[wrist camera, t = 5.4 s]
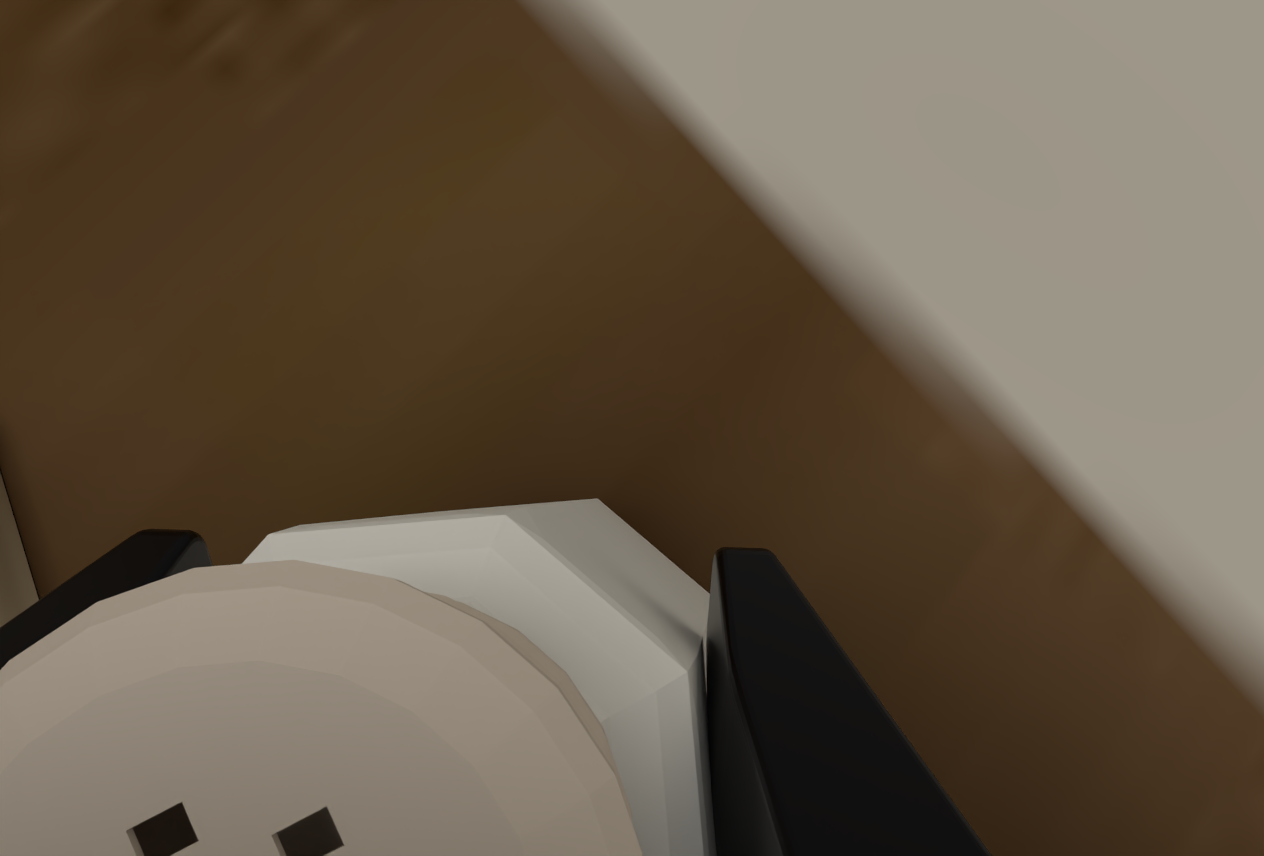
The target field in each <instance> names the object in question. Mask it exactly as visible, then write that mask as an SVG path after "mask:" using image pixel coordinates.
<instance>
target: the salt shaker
mask: <svg viewBox="0 0 1264 856" xmlns="http://www.w3.org/2000/svg"><path fill="white" fill-rule="evenodd" d="M709 599H710V594H709V593H708V592H707V591H706V590H704V589H703V588H702V587H701V586H700V585H699V584H697V583H696V582H695V581H694V580H693V579H692V578H690V577H689V576H688V575H687V574H686V573H684V572H683V571H682V570H681V569H680V568H679V567H677V566H676V565H675V564H674V563H673V562H672V561H670V560H669V559H668V558H667V557H666V556H664V555H663V554H662V553H661V552H660V551H659V550H657V549H656V548H655V547H654V546H653V545H652V544H650V543H649V542H648V541H647V540H646V539H645V538H643V537H642V536H641V535H640V534H639V533H637V532H636V531H635V530H634V529H633V528H632V527H630V526H629V525H628V524H627V523H626V522H625V521H623V520H622V519H621V518H620V517H619V516H617V515H616V514H615V513H614V512H613V511H612V510H610V509H609V508H608V507H607V506H606V505H605V504H603V503H602V502H601V501H600V500H599V499H585V500H573V501H561V502H549V503H536V504H524V505H512V506H500V507H488V508H475V509H463V510H451V511H440V512H429V513H419V514H409V515H398V516H388V517H378V518H367V519H357V520H347V521H336V522H326V523H316V524H305V525H298V526H295V527H292V528H288V529H285V530H281V531H278V532H275V533H271V534H268V535H267V537H266V538H265V539H264V540H263V541H262V542H261V543H260V544H259V545H258V547H257V548H256V549H255V550H254V551H253V552H252V553H251V554H250V555H249V556H248V558H247V559H246V560H245V561H244V562H243V563H242V564H235V565H223V566H211V567H199V568H192V569H189V570H186V571H184V572H181V573H178V574H175V575H172V576H169V577H167V578H164V579H161V580H158V581H155V582H152V583H150V584H147V585H144V586H141V587H138V588H135V589H133V590H130V591H127V592H124V593H121V594H118V595H116V596H113V597H110V598H107V599H104V600H101V601H99V602H96V603H95V604H93V605H92V606H90V607H89V608H87V609H86V610H84V611H83V612H81V613H80V614H78V615H77V616H75V617H74V618H72V619H71V620H69V621H68V622H66V623H65V624H63V625H62V626H60V627H59V628H57V629H56V630H54V631H53V632H51V633H50V634H48V635H47V636H45V637H44V638H42V639H41V640H39V641H38V642H36V643H35V644H33V645H32V646H30V647H29V648H27V649H26V650H24V651H23V652H21V653H20V654H18V655H17V656H15V657H14V658H12V659H11V660H9V661H8V662H7V663H6V665H5V666H4V667H3V668H2V669H1V670H0V856H717V853H716V842H715V830H714V818H713V805H712V790H711V773H710V754H709V735H708V717H707V684H706V637H707V621H708V610H709Z"/></svg>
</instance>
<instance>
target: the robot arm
mask: <svg viewBox="0 0 1264 856" xmlns="http://www.w3.org/2000/svg"><path fill="white" fill-rule="evenodd" d="M211 566H212V562H211V559H210V555H209V552H208V548H207V546H206V543H205V541H204V539H203V538H202V537H201V535H199V534H198V533H196V532H194V531H191V530H169V529H147V530H142V531H139V532H137V533H136V534H134V535H132V536H130V537H129V538H128V539H126V540H125V541H123V542H122V543H120V544H119V545H118V546H116V547H115V548H113V549H112V550H110V551H109V552H107V553H106V554H105V555H103V556H102V557H100V558H99V559H97V560H96V561H95V562H93V563H92V564H90V565H89V566H87V567H86V568H84V569H83V570H82V571H80V572H79V573H77V574H76V575H74V576H73V577H72V578H70V579H69V580H67V581H66V582H64V583H63V584H61V585H60V586H59V587H57V588H56V589H54V590H53V591H51V592H50V593H49V594H47V595H46V596H44V597H43V598H41V599H40V600H38V601H37V602H36V603H34V604H33V605H31V606H30V607H28V608H27V609H26V610H24V611H23V612H21V613H20V614H18V615H17V616H15V617H14V618H13V619H11V620H10V621H8V622H7V623H5V624H4V625H3V626H1V627H0V670H1V669H2V668H3V667H4V666H5V665H6V663H7V662H8V661H9V660H11V659H12V658H14V657H15V656H17V655H18V654H20V653H21V652H23V651H24V650H26V649H27V648H29V647H30V646H32V645H33V644H35V643H36V642H38V641H39V640H41V639H42V638H44V637H45V636H47V635H48V634H50V633H51V632H53V631H54V630H56V629H57V628H59V627H60V626H62V625H63V624H65V623H66V622H68V621H69V620H71V619H72V618H74V617H75V616H77V615H78V614H80V613H81V612H83V611H84V610H86V609H87V608H89V607H90V606H92V605H93V604H95V603H96V602H99V601H101V600H104V599H107V598H110V597H113V596H116V595H118V594H121V593H124V592H127V591H130V590H133V589H135V588H138V587H141V586H144V585H147V584H150V583H152V582H155V581H158V580H161V579H164V578H167V577H169V576H172V575H175V574H178V573H181V572H184V571H186V570H189V569H192V568H199V567H211ZM706 684H707V717H708V735H709V754H710V773H711V790H712V805H713V818H714V830H715V842H716V853H717V856H992V855H991V854H990V852H989V851H988V850H987V848H986V847H985V846H984V844H983V843H982V841H981V840H980V839H979V837H978V836H977V834H976V833H975V832H974V830H973V829H972V828H971V826H970V825H969V823H968V822H967V821H966V819H965V818H964V816H963V815H962V814H961V812H960V811H959V810H958V808H957V807H956V805H955V804H954V803H953V801H952V800H951V798H950V797H949V796H948V794H947V793H946V792H945V790H944V789H943V787H942V786H941V785H940V783H939V782H938V780H937V779H936V778H935V776H934V775H933V773H932V772H931V771H930V769H929V768H928V767H927V765H926V764H925V762H924V761H923V760H922V758H921V757H920V755H919V754H918V753H917V751H916V750H915V749H914V747H913V746H912V744H911V743H910V742H909V740H908V739H907V737H906V736H905V735H904V733H903V732H902V731H901V729H900V728H899V726H898V725H897V724H896V722H895V721H894V719H893V718H892V717H891V715H890V714H889V713H888V711H887V710H886V708H885V707H884V706H883V704H882V703H881V701H880V700H879V699H878V697H877V696H876V695H875V693H874V692H873V690H872V689H871V688H870V686H869V685H868V683H867V682H866V681H865V679H864V678H863V677H862V675H861V674H860V672H859V671H858V670H857V668H856V667H855V665H854V664H853V663H852V661H851V660H850V659H849V657H848V656H847V654H846V653H845V652H844V650H843V649H842V647H841V646H840V645H839V643H838V642H837V641H836V639H835V638H834V636H833V635H832V634H831V632H830V631H829V629H828V628H827V627H826V625H825V624H824V623H823V621H822V620H821V618H820V617H819V616H818V614H817V613H816V611H815V610H814V609H813V607H812V606H811V605H810V603H809V602H808V600H807V599H806V598H805V596H804V595H803V593H802V592H801V591H800V589H799V588H798V587H797V585H796V584H795V582H794V581H793V580H792V578H791V577H790V575H789V574H788V573H787V571H786V570H785V569H784V567H783V566H782V564H781V563H780V562H779V560H778V559H777V557H776V556H775V555H774V554H773V553H772V552H771V551H769V550H767V549H763V548H736V547H723V548H720V549H718V550H717V552H716V553H715V555H714V559H713V566H712V577H711V588H710V599H709V610H708V621H707V637H706Z"/></svg>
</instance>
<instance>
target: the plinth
mask: <svg viewBox="0 0 1264 856" xmlns="http://www.w3.org/2000/svg"><path fill="white" fill-rule="evenodd" d="M38 600H39V599H38V595H37V592H36V589H35V585H34V582H33V579H32V575H31V572H30V569H29V566H28V562H27V559H26V556H25V552H24V549H23V546H22V542H21V539H20V536H19V532H18V529H17V526H16V522H15V519H14V516H13V513H12V509H11V506H10V503H9V499H8V496H7V493H6V489H5V486H4V483H3V479H2V476H1V473H0V627H1V626H3V625H4V624H5V623H7V622H8V621H10V620H11V619H13V618H14V617H15V616H17V615H18V614H20V613H21V612H23V611H24V610H26V609H27V608H28V607H30V606H31V605H33V604H34V603H36V602H37V601H38Z"/></svg>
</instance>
